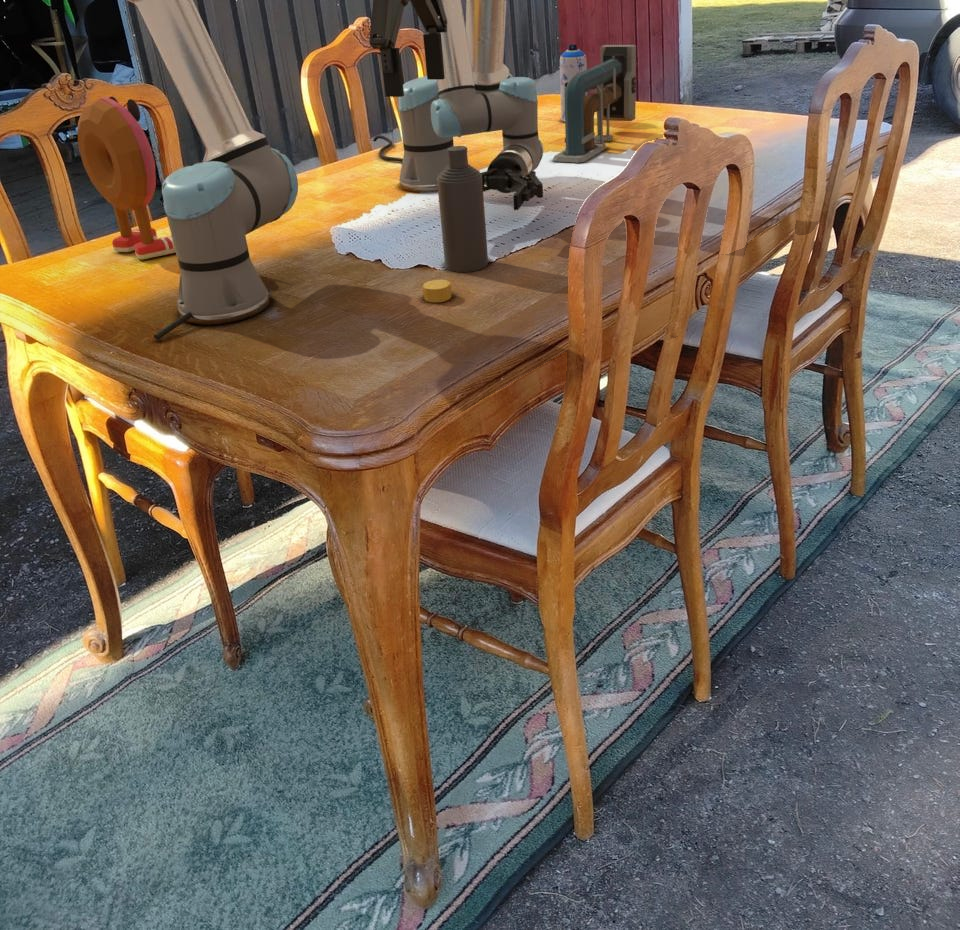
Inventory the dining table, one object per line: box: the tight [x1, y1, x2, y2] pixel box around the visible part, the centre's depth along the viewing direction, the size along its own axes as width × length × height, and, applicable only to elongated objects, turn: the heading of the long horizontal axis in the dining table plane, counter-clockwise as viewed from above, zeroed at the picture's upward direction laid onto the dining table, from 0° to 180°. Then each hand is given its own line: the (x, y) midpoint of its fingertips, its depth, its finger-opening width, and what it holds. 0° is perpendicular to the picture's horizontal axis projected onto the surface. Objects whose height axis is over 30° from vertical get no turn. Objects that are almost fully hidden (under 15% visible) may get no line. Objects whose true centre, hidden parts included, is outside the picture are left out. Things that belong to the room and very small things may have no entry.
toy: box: [77, 96, 176, 260], centre depth 191 cm, size 21×10×30 cm, turn 47°
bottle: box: [437, 145, 489, 273], centre depth 171 cm, size 8×8×21 cm
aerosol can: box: [559, 43, 588, 123], centre depth 273 cm, size 8×8×20 cm
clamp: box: [552, 44, 637, 164], centre depth 243 cm, size 35×9×21 cm, turn 151°
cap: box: [422, 279, 453, 304], centre depth 163 cm, size 5×5×2 cm
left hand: (416, 87), depth 146 cm, fingers open, 13 cm apart
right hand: (480, 202), depth 180 cm, fingers open, 13 cm apart
